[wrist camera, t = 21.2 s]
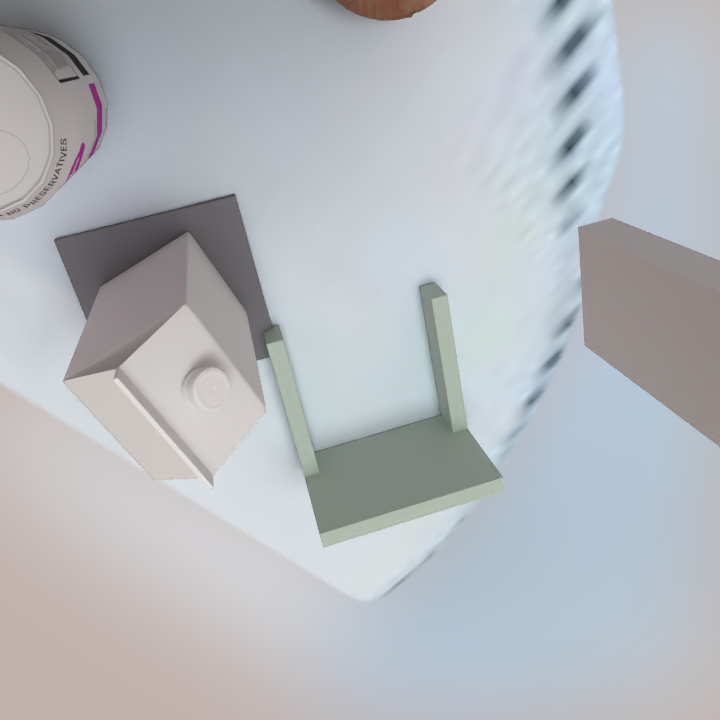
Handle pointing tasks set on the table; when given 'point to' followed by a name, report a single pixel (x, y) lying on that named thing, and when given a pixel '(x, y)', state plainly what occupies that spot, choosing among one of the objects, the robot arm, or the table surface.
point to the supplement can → (44, 117)
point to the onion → (386, 8)
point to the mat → (149, 234)
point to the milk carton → (170, 364)
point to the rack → (393, 449)
